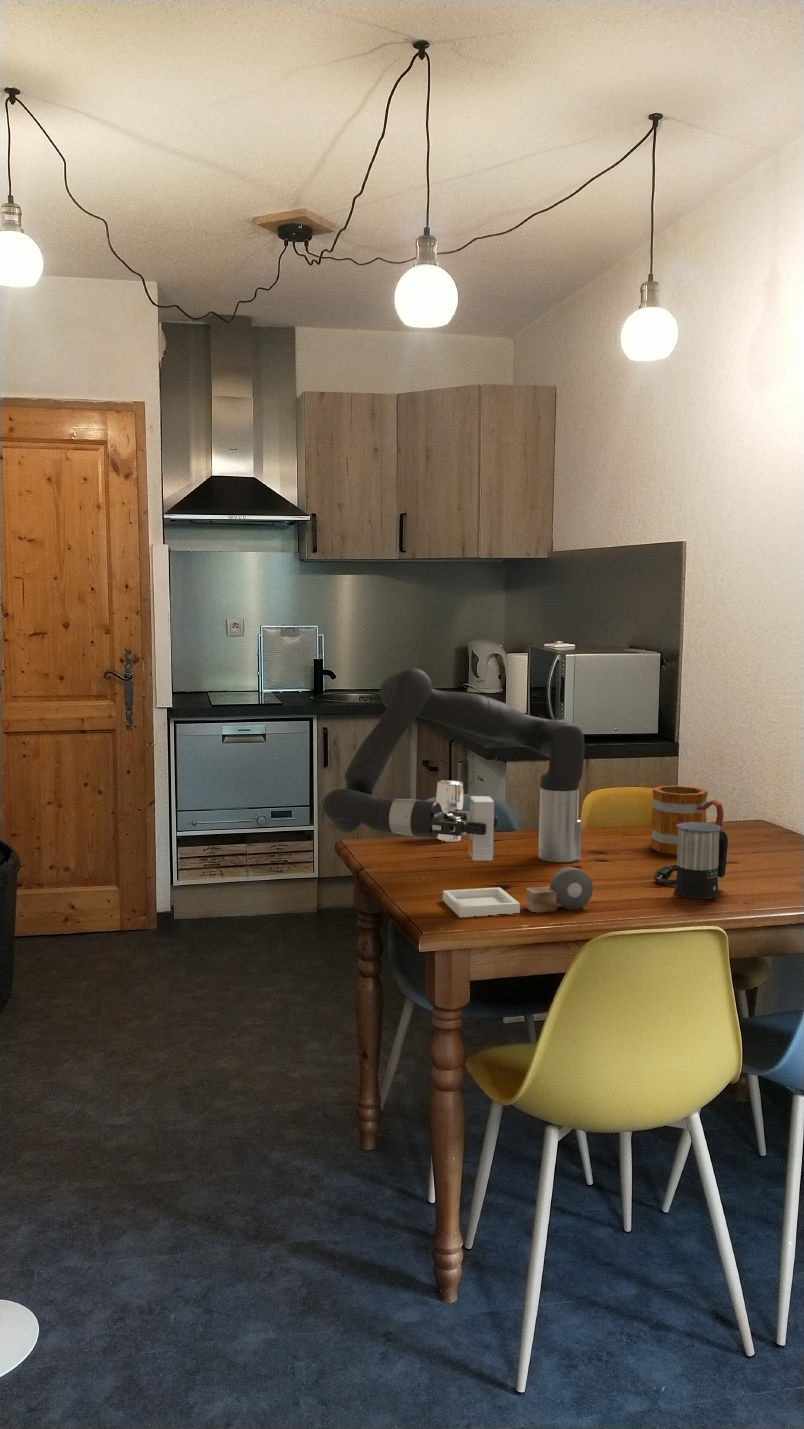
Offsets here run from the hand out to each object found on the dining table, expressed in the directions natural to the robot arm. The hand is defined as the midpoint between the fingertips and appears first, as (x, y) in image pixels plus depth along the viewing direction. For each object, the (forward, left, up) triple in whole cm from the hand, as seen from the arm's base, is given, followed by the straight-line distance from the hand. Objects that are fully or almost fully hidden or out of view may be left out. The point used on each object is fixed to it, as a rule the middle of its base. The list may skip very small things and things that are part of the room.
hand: (491, 825), depth 220 cm
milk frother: (-46, -5, -17) cm, 49 cm away
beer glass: (-9, -62, -17) cm, 65 cm away
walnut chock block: (-10, +3, -17) cm, 20 cm away
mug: (-64, -38, -17) cm, 77 cm away
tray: (+2, -1, -17) cm, 17 cm away
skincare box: (+2, -1, -7) cm, 7 cm away
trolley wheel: (-16, +3, -17) cm, 24 cm away
